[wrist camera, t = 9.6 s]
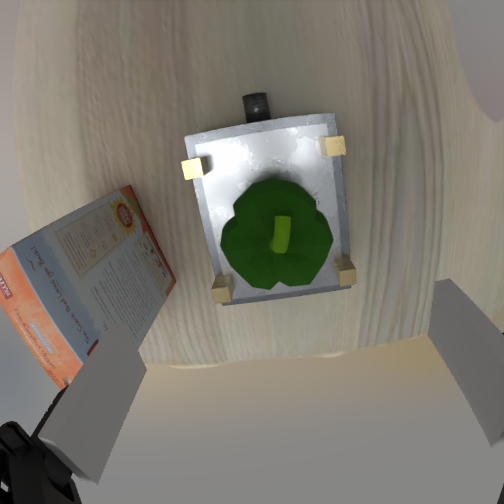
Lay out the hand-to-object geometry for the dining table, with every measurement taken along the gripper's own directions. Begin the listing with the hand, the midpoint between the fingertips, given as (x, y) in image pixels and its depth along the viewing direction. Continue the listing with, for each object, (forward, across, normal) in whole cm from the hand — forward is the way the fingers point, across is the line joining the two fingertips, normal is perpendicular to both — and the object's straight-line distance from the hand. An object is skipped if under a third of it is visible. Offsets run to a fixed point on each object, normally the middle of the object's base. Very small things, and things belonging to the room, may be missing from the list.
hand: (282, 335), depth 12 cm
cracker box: (+25, -18, -2) cm, 31 cm away
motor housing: (+25, 0, +1) cm, 25 cm away
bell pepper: (+18, 0, 0) cm, 18 cm away
